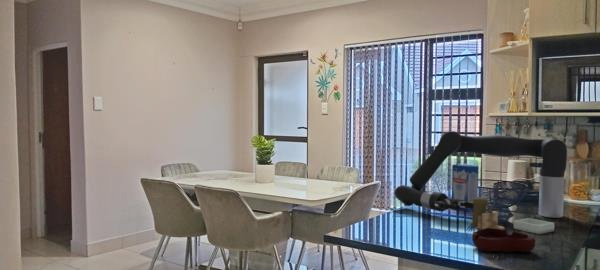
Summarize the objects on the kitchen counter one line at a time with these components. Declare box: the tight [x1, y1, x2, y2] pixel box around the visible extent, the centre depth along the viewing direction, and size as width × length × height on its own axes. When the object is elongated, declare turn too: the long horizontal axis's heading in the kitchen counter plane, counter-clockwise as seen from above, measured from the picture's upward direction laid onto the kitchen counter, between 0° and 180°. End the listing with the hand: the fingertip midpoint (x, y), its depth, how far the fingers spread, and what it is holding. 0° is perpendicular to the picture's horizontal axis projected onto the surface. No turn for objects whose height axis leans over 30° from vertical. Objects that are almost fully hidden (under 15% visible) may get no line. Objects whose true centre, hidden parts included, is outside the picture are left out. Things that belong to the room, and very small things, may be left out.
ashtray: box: [471, 228, 536, 254], centre depth 150 cm, size 18×16×5 cm
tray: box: [512, 217, 555, 235], centre depth 176 cm, size 10×10×3 cm
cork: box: [470, 196, 488, 229], centre depth 180 cm, size 6×6×11 cm
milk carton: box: [451, 163, 480, 212], centre depth 216 cm, size 10×6×20 cm, turn 25°
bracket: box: [477, 203, 506, 230], centre depth 176 cm, size 10×5×9 cm, turn 124°
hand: (466, 207), depth 186 cm, fingers open, 8 cm apart
